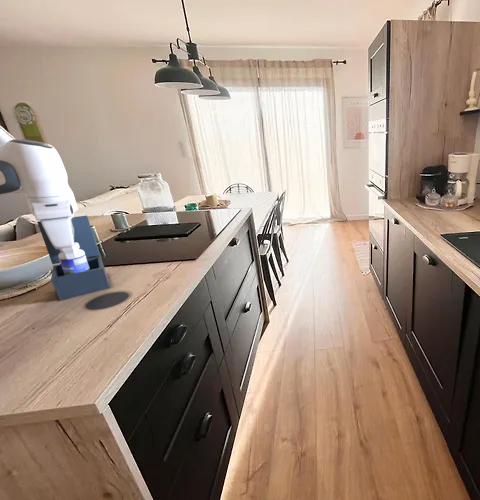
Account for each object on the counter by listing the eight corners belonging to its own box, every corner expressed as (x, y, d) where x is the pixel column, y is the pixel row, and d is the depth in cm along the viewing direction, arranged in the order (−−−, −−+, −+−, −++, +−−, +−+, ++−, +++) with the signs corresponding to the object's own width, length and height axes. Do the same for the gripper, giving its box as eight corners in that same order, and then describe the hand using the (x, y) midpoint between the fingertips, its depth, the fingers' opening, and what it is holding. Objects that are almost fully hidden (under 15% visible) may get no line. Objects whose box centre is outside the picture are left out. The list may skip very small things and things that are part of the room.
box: (110, 289, 83) (103, 267, 81) (60, 302, 77) (50, 279, 74) (107, 276, 91) (100, 256, 89) (61, 286, 85) (53, 265, 82)
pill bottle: (61, 279, 81) (49, 246, 77) (82, 271, 85) (71, 240, 82) (76, 281, 79) (64, 248, 76) (96, 273, 84) (86, 242, 81)
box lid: (87, 215, 87) (87, 215, 87) (37, 221, 80) (37, 221, 81) (100, 255, 88) (100, 255, 89) (52, 264, 82) (52, 264, 82)
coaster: (80, 314, 71) (79, 312, 71) (94, 297, 79) (94, 295, 79) (123, 306, 74) (123, 305, 74) (133, 291, 82) (132, 289, 82)
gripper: (40, 201, 80) (57, 247, 85) (32, 214, 66) (54, 269, 71) (70, 198, 84) (85, 243, 89) (70, 211, 70) (87, 262, 75)
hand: (71, 254), depth 80 cm, fingers closed on pill bottle, 5 cm apart
